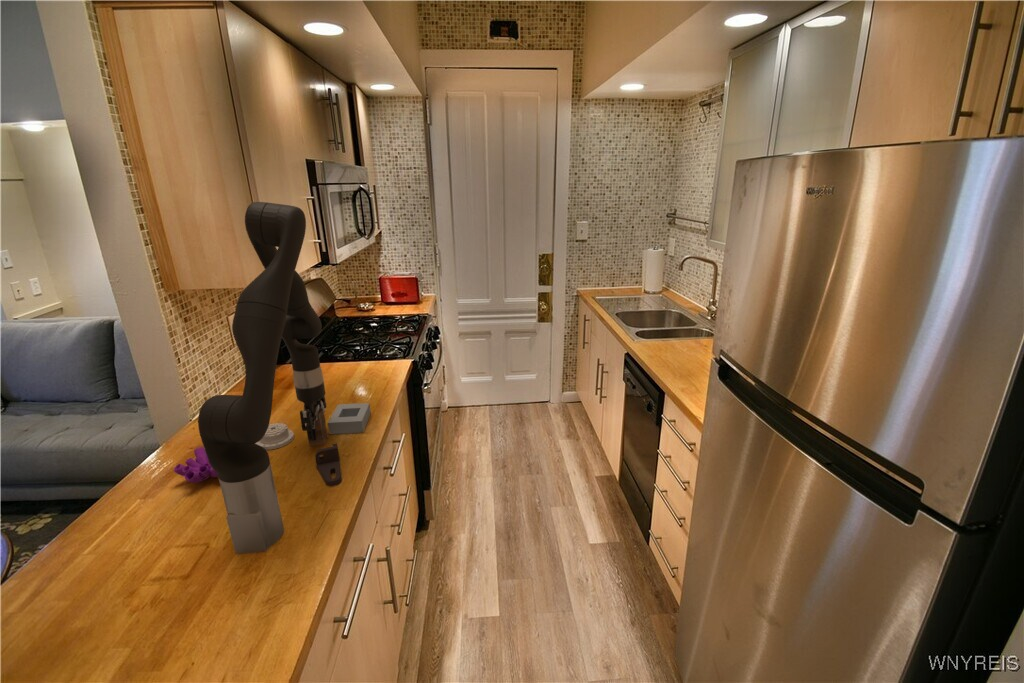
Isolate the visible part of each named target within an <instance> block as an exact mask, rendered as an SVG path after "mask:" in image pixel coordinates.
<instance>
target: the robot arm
mask: <svg viewBox="0 0 1024 683" xmlns="http://www.w3.org/2000/svg"><path fill="white" fill-rule="evenodd" d="M306 219H307V218H306V215H305V212H304V211H303V209H302V208H300V207H298V206H295V205H289V204H282V203H281V204H280V203H274V202H267V201H266V202H265V201H254V202H252V203H250V204H249V205H248V206H247V208H246V211H245V214H244V226H245V231H246V234H247V236H248V238H249V241H250V243H251V245H252V247H253V249H254V252H255V253H256V254H257V257H258V259H259V261H260V263H261V265H262V266H263V268H264V270H263V271H262V272H261V273H259V275H257V276H256V277H255V278H254V279H253V280H252V281H251V282H250V283H248V285H247V286H246V287H245V288H244V289H243V290H242V291H241V292H240V294H239V296H238V298H237V301H236V306H235V310H234V315H233V319H232V325H231V329H232V336H233V338H234V341H235V344H236V346H237V348H238V351H239V353H240V356H241V358H242V360H243V364H244V369H245V379H244V387H243V392H242V395H240V394H239V395H238V394H237V395H236V394H216V395H213V396H211V397H209V398H207V399H206V400H205V401H204V403H203V404H202V406H201V407H200V410H199V413H198V418H197V422H198V423H197V424H198V433H199V436H200V439H201V442H202V445H203V446H202V447H204V449H205V451H206V454H207V457H208V460H209V463H210V465H211V467H212V468H213V469H214V470H215V471H216V472H217V475H218V477H217V478H218V482H219V486H220V490H221V493H222V497H223V501H224V505H225V506H224V507H225V509H226V514H227V515H226V522H227V526H228V530H229V534H230V537H231V541H232V544H233V545H232V546H233V548H234V553H235V554H236V555H238V554H240V555H241V554H251V553H263V552H264V553H265V552H267V551H268V550H269V548H271V546H273V545H275V544H276V543H277V542H278V541H279V540H281V538H282V536H283V534H284V531H285V527H284V523H283V518H282V513H281V508H280V503H279V499H278V493H277V489H276V485H275V479H274V475H273V469H272V464H271V461H270V460H271V459H270V455H269V452H268V450H266V449H265V448H263V447H262V446H260V445H257V444H256V443H257V442H259V441H260V440H261V439H262V438H263V436H264V435H265V433H266V431H267V429H268V426H269V425H270V421H271V417H272V416H271V415H272V410H273V409H272V408H273V395H274V389H275V387H274V386H275V379H276V378H275V376H276V370H277V363H278V358H279V353H280V352H279V351H280V347H281V342H282V341H283V342H284V344H285V346H286V347H287V348H286V349H287V350H288V353H289V356H290V360H291V366H292V374H293V375H292V376H293V377H292V378H293V384H294V389H295V390H294V391H295V395H296V399H297V400H298V401H299V402H301V403H303V410H300V411H299V416H300V424H301V430H302V431H303V432H306V434H307V440H308V442H309V441H315V440H316V439H317V435H316V429H315V423H316V421H317V420H318V411H319V409H320V408H323V411H324V414H325V413H326V409H327V402H326V388H325V382H324V376H323V374H324V373H323V370H322V367H321V361H320V356H319V350H318V347H316V346H315V345H313V344H306V343H301V342H299V341H298V340H305V339H307V340H308V339H315V338H317V337H319V335H320V334H321V332H322V330H323V329H322V321H321V319H320V317H319V315H318V314H317V312H316V311H315V310H314V308H313V306H312V305H311V303H310V300H309V296H308V292H307V291H308V290H307V287H306V285H305V281H304V280H303V277H301V275H300V274H299V273H298V272H297V270H296V267H297V265H298V261H299V257H300V255H301V252H302V247H303V244H304V241H305V235H306V230H307V220H306ZM311 416H314V417H313V418H311ZM325 416H326V415H324V417H325ZM325 418H326V417H325ZM308 423H309V425H308ZM326 423H327V422H326V421H325V424H326Z"/></svg>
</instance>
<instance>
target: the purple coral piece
mask: <svg viewBox="0 0 1024 683" xmlns="http://www.w3.org/2000/svg"><path fill="white" fill-rule="evenodd" d="M193 453H194V456H195V458H194V459H193V458H192V457H190V458H188V459H186V461H185V464H186V465H184V464H181V463H178V464H177V465H176V466H174V468H173V472H175V473H176V474H177V475H179V476H182V477H184V479H185V480H186V481H187V482H189V483H193V484H196V483H200V482H203V481H205V480H207V479H209V478H218V475H217V472H216V471H215V470H214V469H213V468H212V467H211V465H210V463H209V460H208V457H207V454H206V451H205V448H204V446H199V447H197V448H195V449H194V450H193Z"/></svg>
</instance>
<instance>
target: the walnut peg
mask: <svg viewBox="0 0 1024 683" xmlns="http://www.w3.org/2000/svg"><path fill="white" fill-rule="evenodd" d="M324 416H325V413H324V411H323V408H320V409H319V411H318V420H317V421H316V423H315V429H316V435H317V439H316V440H315V441H309V440H308V445H309V447H313V446H314V447H316V446H318V447H319V446H325V444H326V442H327V440H328V432H327V431H328V430H327V425H326V424H325V422H326V417H324ZM313 417H314V416H311V418H313ZM308 425H309V423H308Z"/></svg>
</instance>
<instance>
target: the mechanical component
mask: <svg viewBox="0 0 1024 683" xmlns="http://www.w3.org/2000/svg"><path fill="white" fill-rule="evenodd" d="M294 438H295V435H294V432H293V430H291V429H290V428H289V429H288V425H287V424H285V423H283V422H277V423H270V424H269V426H268V429H267V431H266V433H265V435H264V436H263V438H262V439H261V440H260V441H259V442H257V443H255V444H257V445H260V446H262V447H263V448H265V449H266V450H267V451H271V450H276V449H279V448H282V447H285V446H287V445H288V444H290V443H291V442H293V441H294Z"/></svg>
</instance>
